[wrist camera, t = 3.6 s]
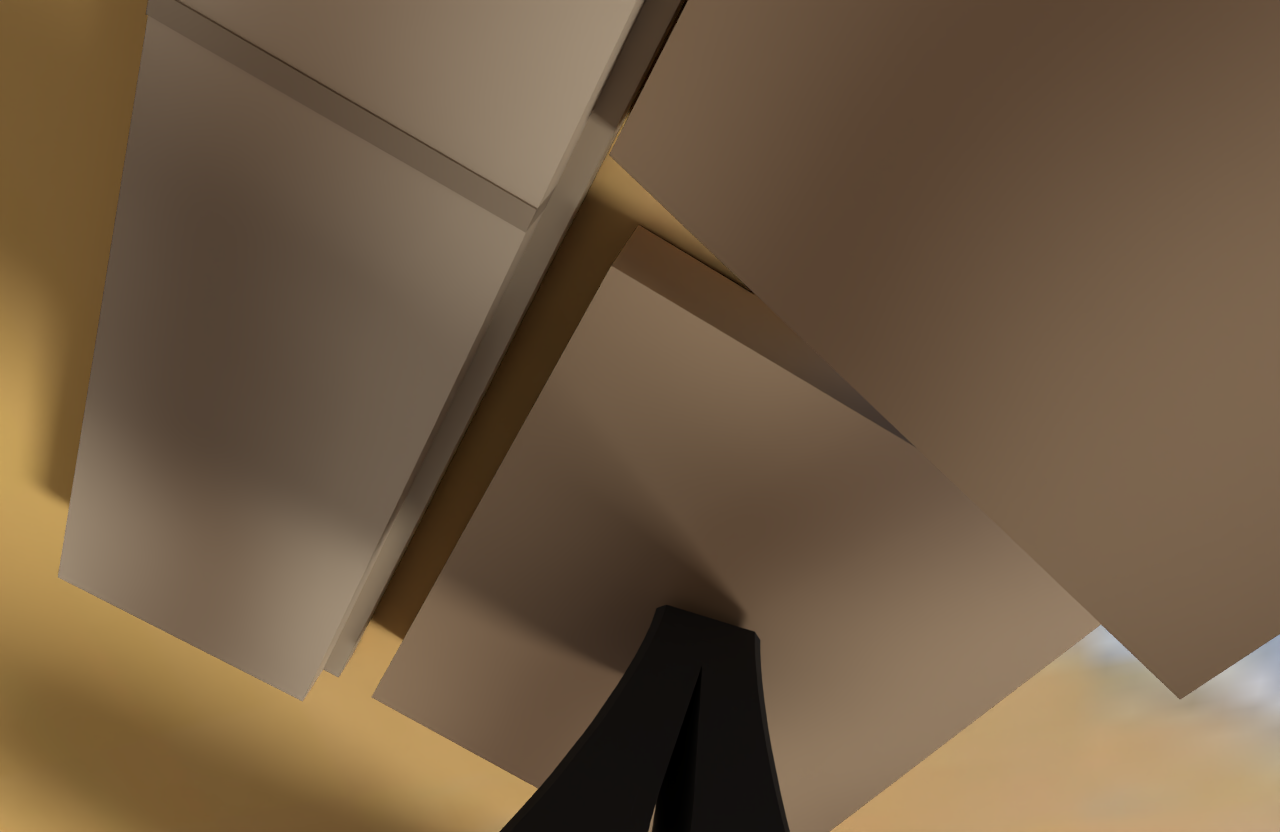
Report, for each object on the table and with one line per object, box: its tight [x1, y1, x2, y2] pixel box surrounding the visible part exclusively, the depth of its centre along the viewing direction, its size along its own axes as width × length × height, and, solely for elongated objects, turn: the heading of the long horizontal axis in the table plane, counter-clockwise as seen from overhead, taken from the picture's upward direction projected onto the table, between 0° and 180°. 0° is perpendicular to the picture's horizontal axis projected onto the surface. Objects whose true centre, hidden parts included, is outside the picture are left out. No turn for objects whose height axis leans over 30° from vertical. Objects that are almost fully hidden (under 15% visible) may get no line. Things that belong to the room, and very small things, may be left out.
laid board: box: [58, 0, 685, 701], centre depth 10 cm, size 5×21×1 cm, turn 153°
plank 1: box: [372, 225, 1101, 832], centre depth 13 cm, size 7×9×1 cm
